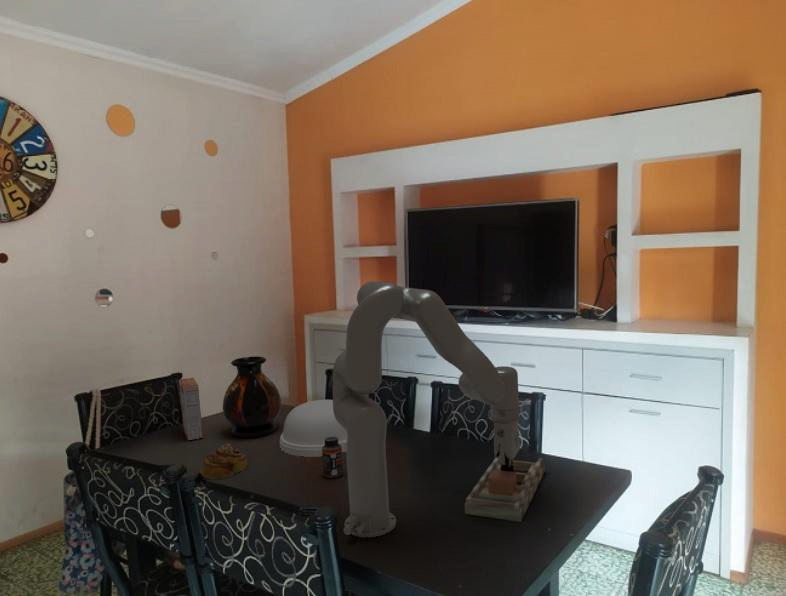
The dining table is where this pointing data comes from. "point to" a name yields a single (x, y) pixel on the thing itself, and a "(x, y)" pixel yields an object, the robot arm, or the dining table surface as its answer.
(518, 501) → the board
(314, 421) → the dome cover
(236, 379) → the dark brown vase
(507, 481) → the terracotta block
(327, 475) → the supplement bottle
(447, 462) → the dining table surface
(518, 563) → the dining table surface
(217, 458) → the pastry
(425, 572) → the dining table surface
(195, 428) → the cracker box
